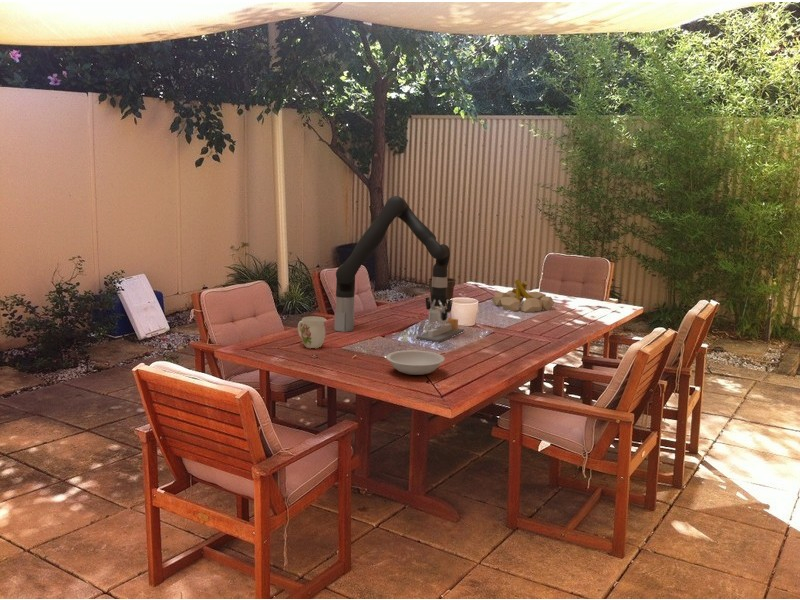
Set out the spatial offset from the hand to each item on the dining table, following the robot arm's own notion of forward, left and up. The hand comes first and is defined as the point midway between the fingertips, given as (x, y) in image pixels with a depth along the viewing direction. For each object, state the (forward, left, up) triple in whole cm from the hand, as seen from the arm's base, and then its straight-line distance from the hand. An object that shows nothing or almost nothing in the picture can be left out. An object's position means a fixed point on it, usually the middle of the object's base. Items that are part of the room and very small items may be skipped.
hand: (438, 319), depth 383 cm
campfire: (+100, -5, -9) cm, 101 cm away
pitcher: (-52, +38, -9) cm, 65 cm away
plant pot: (+71, +35, -9) cm, 80 cm away
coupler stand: (+3, 0, -9) cm, 9 cm away
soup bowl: (-62, -22, -9) cm, 67 cm away
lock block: (0, 0, -2) cm, 2 cm away
